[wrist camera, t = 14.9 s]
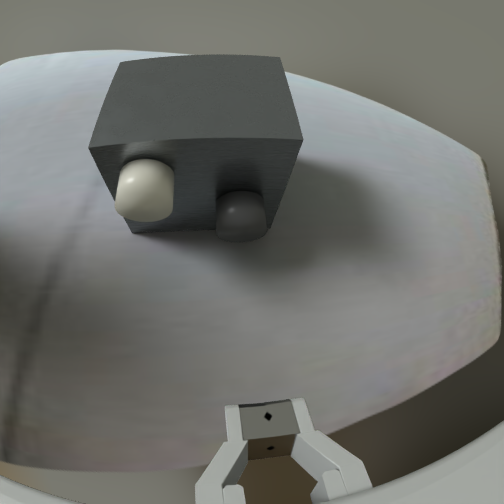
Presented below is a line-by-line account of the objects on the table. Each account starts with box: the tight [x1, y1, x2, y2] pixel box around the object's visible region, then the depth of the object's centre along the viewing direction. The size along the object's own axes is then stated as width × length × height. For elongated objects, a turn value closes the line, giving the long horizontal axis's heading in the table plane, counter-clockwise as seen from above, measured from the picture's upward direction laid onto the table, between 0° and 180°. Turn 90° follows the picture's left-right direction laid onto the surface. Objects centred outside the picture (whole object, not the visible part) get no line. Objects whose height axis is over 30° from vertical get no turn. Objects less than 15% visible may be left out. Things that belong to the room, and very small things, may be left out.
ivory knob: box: [115, 159, 174, 222], centre depth 24 cm, size 10×5×5 cm, turn 5°
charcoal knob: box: [216, 191, 267, 242], centre depth 29 cm, size 10×5×5 cm, turn 5°
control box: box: [88, 55, 303, 233], centre depth 29 cm, size 12×16×15 cm
